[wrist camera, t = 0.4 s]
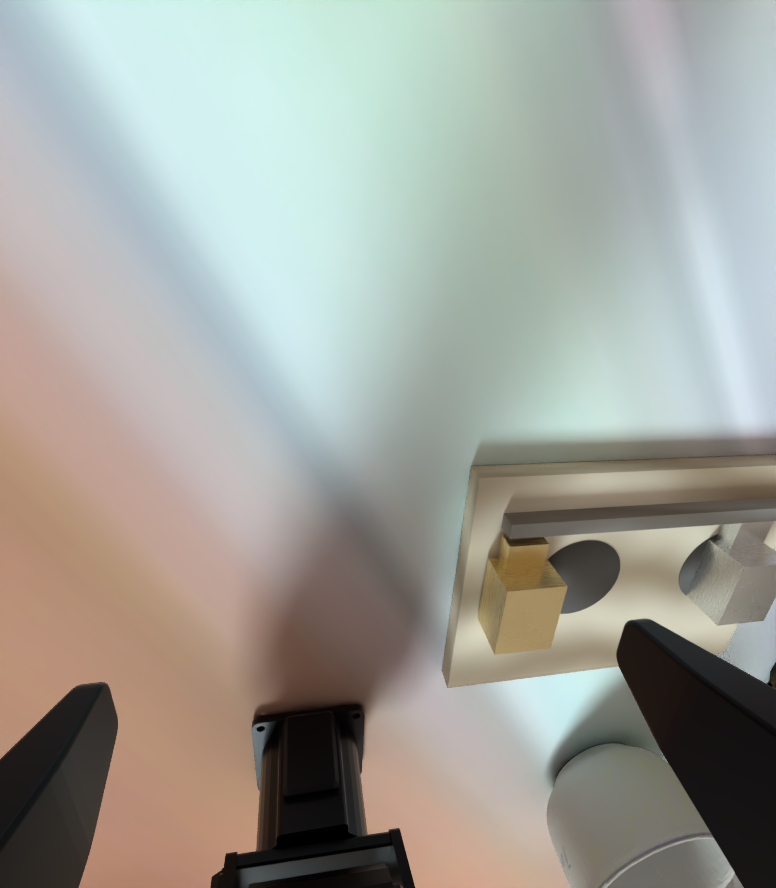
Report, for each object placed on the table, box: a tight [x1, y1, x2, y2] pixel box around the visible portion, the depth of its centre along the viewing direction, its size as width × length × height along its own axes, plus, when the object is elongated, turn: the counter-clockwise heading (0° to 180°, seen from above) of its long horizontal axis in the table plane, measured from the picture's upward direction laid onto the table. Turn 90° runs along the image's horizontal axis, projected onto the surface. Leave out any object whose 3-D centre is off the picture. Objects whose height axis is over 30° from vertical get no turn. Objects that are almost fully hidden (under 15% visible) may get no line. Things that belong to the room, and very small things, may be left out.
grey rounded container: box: [547, 743, 735, 888], centre depth 34 cm, size 14×11×8 cm
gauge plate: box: [442, 455, 776, 688], centre depth 26 cm, size 14×19×2 cm
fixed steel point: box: [686, 521, 776, 626], centre depth 26 cm, size 6×3×2 cm, turn 177°
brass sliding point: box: [478, 534, 568, 655], centre depth 23 cm, size 5×3×2 cm, turn 177°
